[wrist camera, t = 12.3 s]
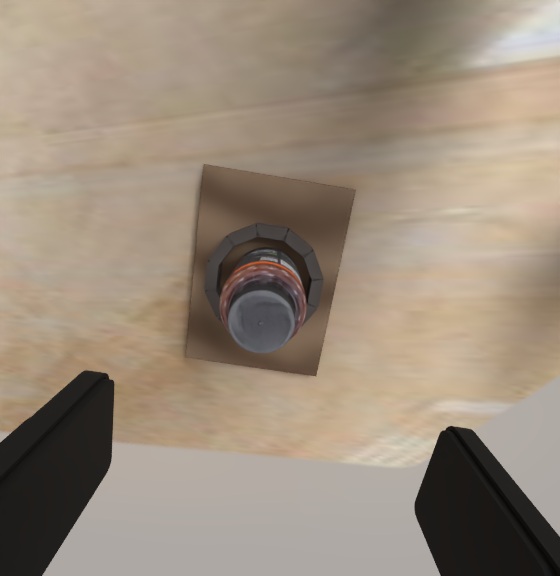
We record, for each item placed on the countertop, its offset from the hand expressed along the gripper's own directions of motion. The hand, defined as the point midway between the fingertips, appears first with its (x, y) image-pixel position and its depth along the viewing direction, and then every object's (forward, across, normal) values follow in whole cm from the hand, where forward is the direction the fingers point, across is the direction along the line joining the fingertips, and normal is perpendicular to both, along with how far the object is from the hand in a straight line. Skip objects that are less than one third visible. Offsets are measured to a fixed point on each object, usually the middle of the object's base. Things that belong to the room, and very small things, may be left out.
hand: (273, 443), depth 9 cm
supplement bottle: (+22, +1, +1) cm, 22 cm away
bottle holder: (+22, +1, +1) cm, 23 cm away
